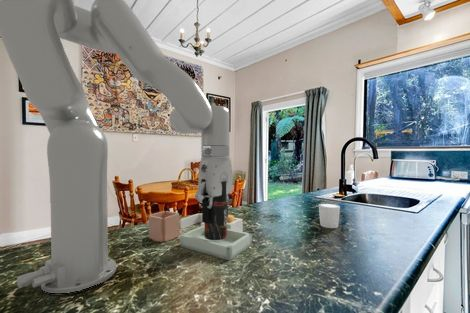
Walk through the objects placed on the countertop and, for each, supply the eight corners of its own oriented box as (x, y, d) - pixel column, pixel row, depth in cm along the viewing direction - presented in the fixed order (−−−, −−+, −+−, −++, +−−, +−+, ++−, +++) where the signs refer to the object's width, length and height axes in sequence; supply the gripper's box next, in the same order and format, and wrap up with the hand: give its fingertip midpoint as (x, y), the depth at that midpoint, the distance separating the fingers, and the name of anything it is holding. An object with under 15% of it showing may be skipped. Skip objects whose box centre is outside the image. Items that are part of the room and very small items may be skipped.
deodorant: (226, 240, 59) (226, 182, 59) (202, 240, 59) (202, 181, 59) (227, 232, 65) (227, 179, 65) (206, 232, 65) (206, 179, 65)
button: (229, 233, 70) (229, 218, 70) (218, 230, 72) (218, 216, 72) (236, 229, 73) (236, 215, 73) (225, 227, 75) (225, 214, 75)
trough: (230, 260, 53) (229, 247, 53) (180, 246, 62) (180, 235, 62) (251, 244, 63) (251, 233, 63) (205, 234, 71) (205, 224, 71)
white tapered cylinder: (336, 222, 82) (336, 203, 82) (343, 229, 75) (343, 207, 75) (316, 222, 83) (316, 203, 83) (321, 228, 76) (321, 207, 76)
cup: (163, 243, 64) (162, 219, 64) (146, 238, 68) (146, 215, 67) (181, 235, 70) (181, 213, 70) (165, 231, 73) (165, 210, 73)
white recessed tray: (228, 239, 66) (228, 225, 66) (180, 228, 77) (179, 216, 77) (244, 230, 75) (244, 217, 75) (198, 221, 85) (198, 210, 85)
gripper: (206, 152, 53) (206, 231, 53) (243, 153, 67) (243, 214, 67) (182, 152, 57) (182, 226, 57) (222, 153, 71) (222, 211, 71)
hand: (215, 219), depth 62 cm, fingers closed on deodorant, 5 cm apart
